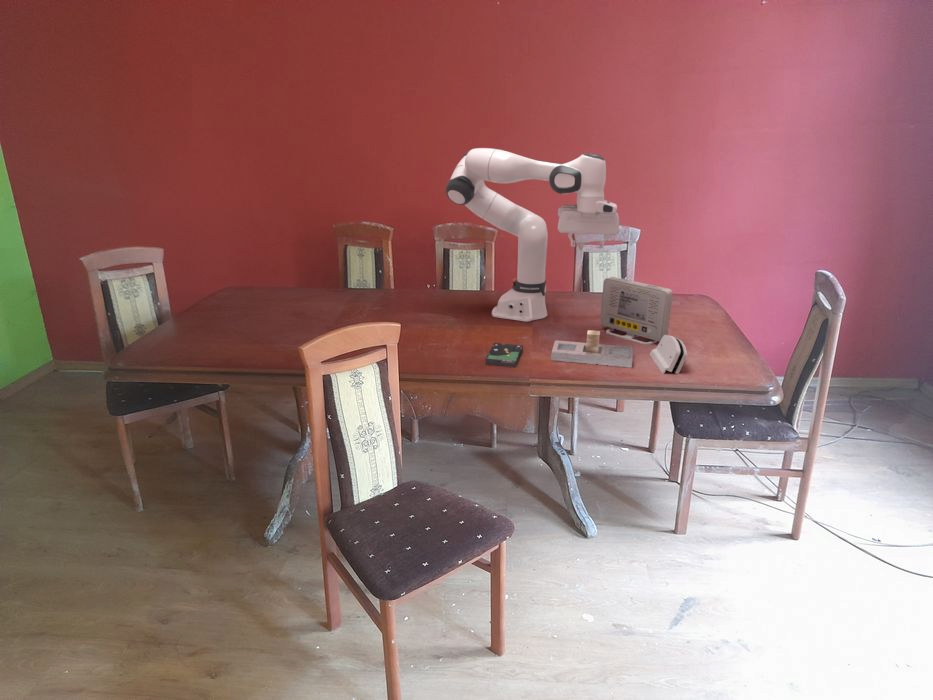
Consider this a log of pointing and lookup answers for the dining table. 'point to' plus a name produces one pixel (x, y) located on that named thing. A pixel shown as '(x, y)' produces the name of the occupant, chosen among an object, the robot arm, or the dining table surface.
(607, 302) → the network device
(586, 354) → the grey flat frame
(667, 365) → the white rounded block
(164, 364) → the dining table surface
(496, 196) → the robot arm
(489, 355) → the disk drive
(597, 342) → the maple block
